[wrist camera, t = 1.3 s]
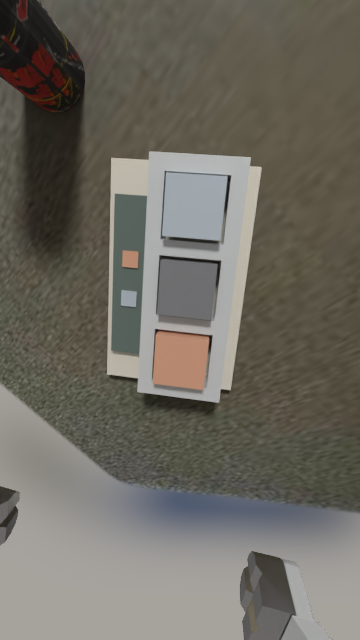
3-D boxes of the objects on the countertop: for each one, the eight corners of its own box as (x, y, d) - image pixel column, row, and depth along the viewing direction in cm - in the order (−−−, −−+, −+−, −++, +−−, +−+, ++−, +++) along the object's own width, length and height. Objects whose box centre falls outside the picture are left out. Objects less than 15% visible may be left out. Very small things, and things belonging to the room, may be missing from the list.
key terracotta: (209, 333, 30) (208, 341, 28) (204, 379, 31) (203, 390, 29) (160, 328, 31) (155, 335, 28) (157, 373, 32) (152, 383, 30)
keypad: (260, 169, 28) (267, 158, 24) (230, 386, 34) (231, 404, 30) (114, 160, 29) (99, 148, 26) (110, 370, 35) (97, 386, 32)
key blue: (226, 181, 26) (227, 176, 24) (220, 240, 28) (220, 240, 25) (170, 178, 27) (166, 172, 25) (166, 236, 28) (161, 235, 26)
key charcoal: (217, 262, 28) (217, 264, 26) (211, 314, 30) (211, 320, 27) (164, 257, 29) (160, 259, 26) (161, 308, 30) (157, 314, 28)
